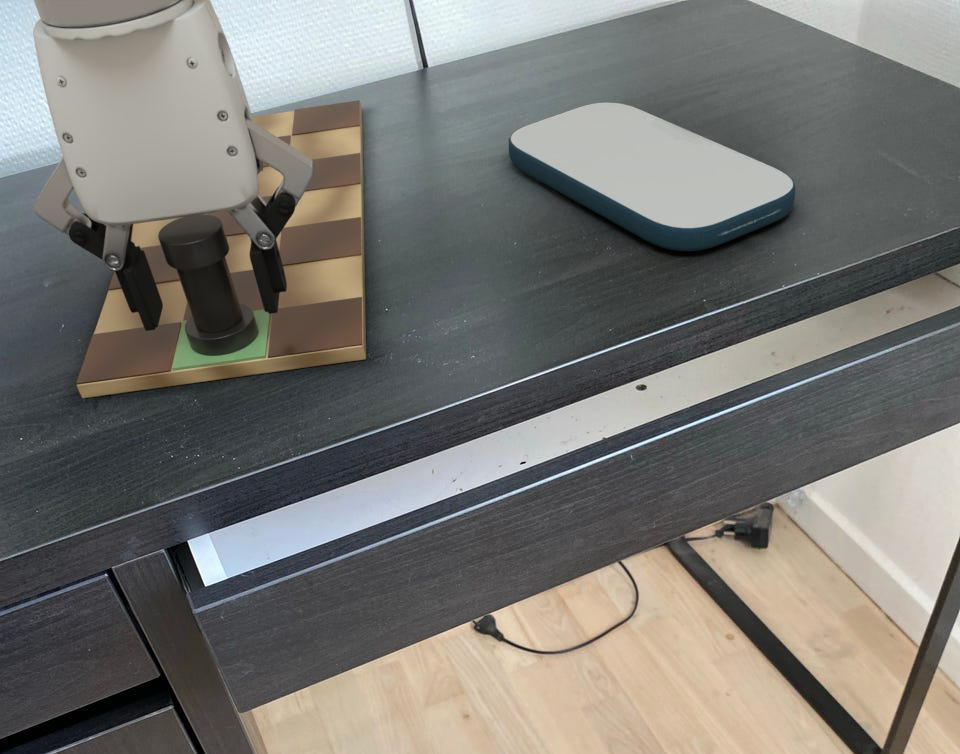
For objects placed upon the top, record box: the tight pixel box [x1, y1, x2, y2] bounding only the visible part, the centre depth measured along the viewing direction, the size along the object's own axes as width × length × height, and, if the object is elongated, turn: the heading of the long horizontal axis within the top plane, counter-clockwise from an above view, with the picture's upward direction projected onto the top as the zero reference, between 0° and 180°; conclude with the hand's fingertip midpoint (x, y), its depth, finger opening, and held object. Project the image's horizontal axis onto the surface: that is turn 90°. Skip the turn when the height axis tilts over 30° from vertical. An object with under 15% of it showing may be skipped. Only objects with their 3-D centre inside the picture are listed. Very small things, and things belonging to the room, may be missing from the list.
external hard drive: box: [508, 101, 796, 252], centre depth 75 cm, size 24×12×2 cm, turn 31°
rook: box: [158, 215, 258, 356], centre depth 62 cm, size 4×4×7 cm
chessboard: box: [75, 99, 367, 399], centre depth 78 cm, size 18×42×1 cm, turn 5°
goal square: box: [172, 310, 270, 371], centre depth 65 cm, size 6×6×1 cm
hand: (213, 309), depth 63 cm, fingers open, 6 cm apart
